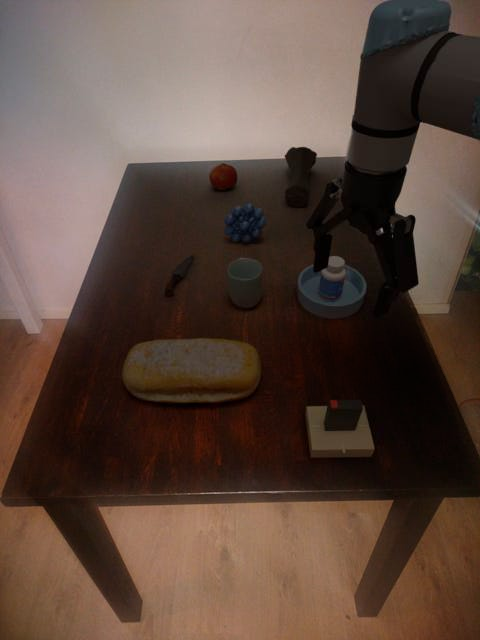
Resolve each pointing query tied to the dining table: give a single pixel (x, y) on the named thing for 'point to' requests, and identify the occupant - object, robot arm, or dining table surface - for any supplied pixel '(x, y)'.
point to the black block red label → (342, 415)
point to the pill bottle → (332, 279)
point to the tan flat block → (337, 437)
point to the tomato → (223, 176)
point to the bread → (192, 370)
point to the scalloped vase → (299, 175)
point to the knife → (178, 275)
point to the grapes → (245, 223)
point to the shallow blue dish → (336, 309)
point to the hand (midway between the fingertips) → (348, 290)
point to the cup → (245, 282)
